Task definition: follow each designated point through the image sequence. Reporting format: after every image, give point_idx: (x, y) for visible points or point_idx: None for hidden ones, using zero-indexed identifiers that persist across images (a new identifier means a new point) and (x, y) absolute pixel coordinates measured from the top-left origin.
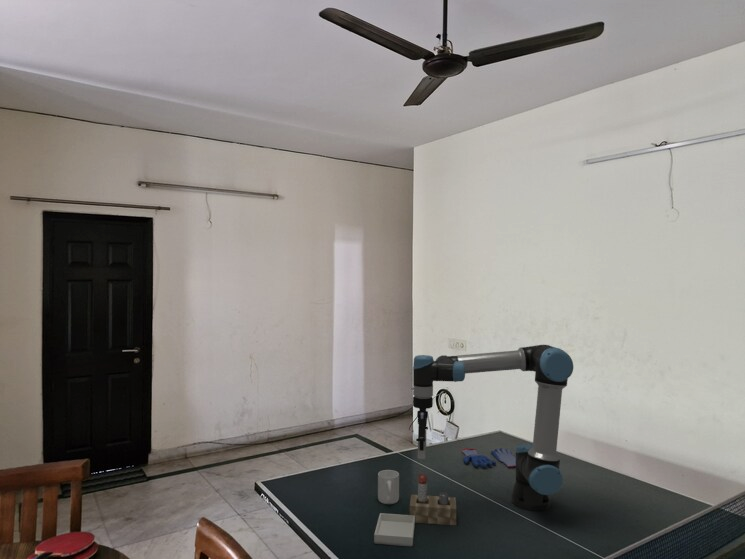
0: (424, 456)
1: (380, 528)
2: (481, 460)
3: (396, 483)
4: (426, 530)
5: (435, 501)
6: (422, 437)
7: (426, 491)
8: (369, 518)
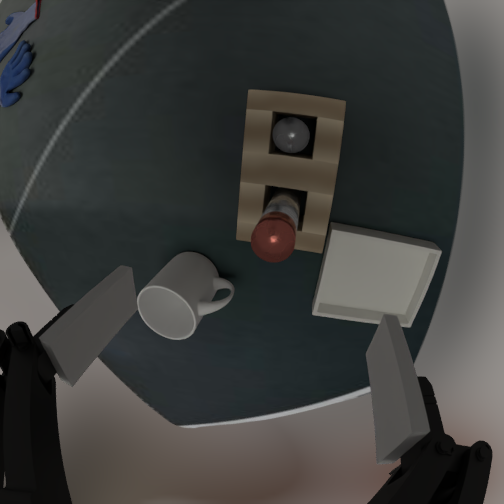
0: (399, 332)
1: (355, 305)
2: (15, 68)
3: (189, 285)
4: (367, 196)
5: (287, 163)
6: (97, 332)
7: (289, 205)
8: (296, 321)
